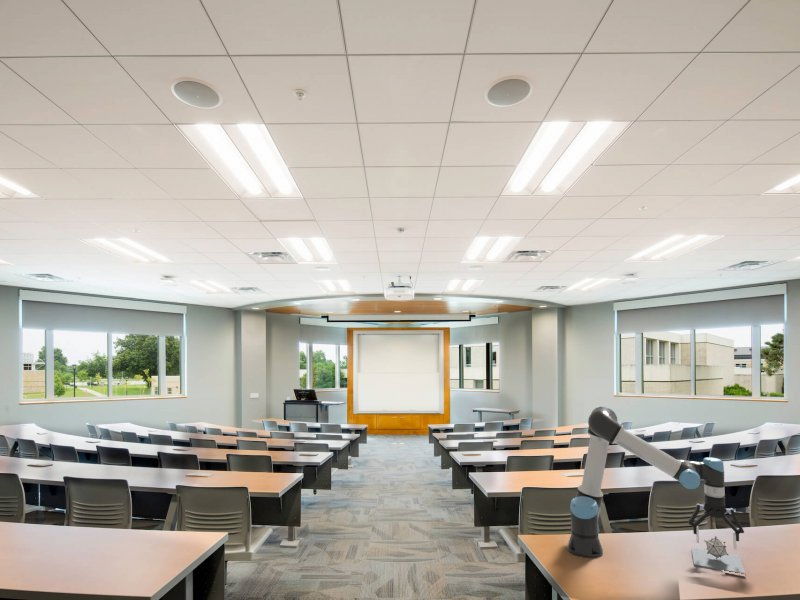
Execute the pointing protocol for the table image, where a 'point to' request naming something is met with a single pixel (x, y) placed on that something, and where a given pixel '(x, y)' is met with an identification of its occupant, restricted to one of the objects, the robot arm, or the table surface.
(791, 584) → the table surface
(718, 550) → the game die
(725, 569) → the board
